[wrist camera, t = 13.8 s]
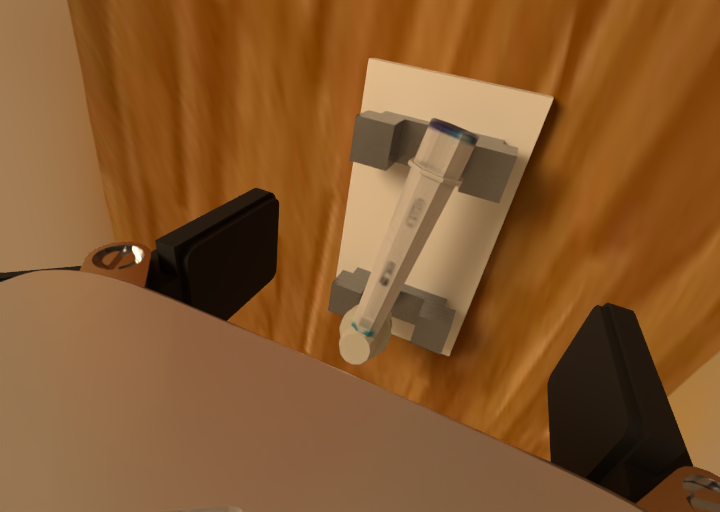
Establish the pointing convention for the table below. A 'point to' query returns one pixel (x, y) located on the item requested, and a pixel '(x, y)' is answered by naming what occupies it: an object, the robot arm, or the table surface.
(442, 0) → the table surface
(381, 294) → the white handheld device
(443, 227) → the stand board
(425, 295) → the v blocks
